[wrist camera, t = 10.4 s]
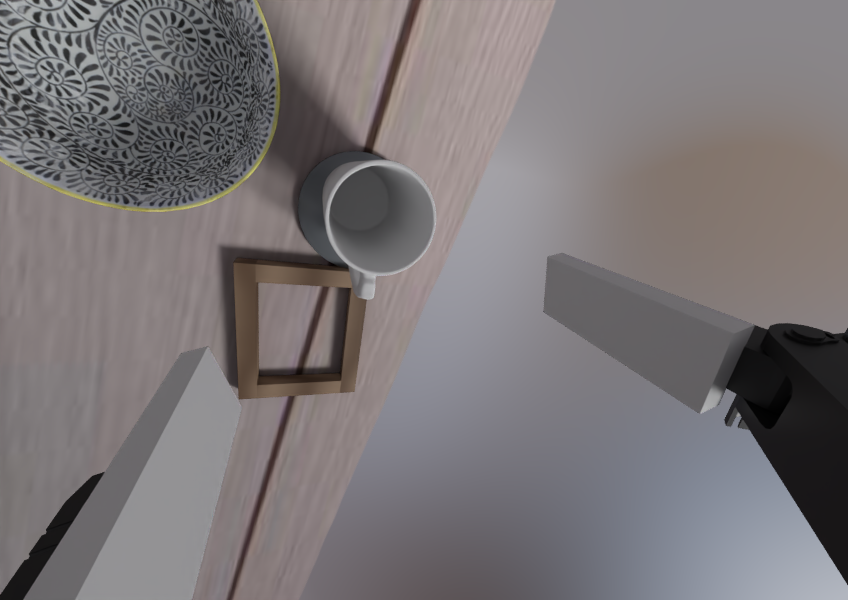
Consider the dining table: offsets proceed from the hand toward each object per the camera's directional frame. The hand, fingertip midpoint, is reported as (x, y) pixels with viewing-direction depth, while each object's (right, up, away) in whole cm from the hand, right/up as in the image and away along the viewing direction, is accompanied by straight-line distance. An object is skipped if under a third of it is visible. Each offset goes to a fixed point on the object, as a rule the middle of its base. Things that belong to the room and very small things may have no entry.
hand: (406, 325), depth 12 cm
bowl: (-18, +17, +10) cm, 26 cm away
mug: (-6, +9, +17) cm, 20 cm away
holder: (-12, -2, +21) cm, 24 cm away
